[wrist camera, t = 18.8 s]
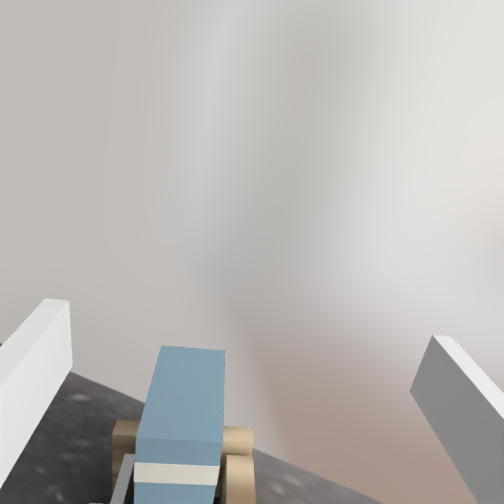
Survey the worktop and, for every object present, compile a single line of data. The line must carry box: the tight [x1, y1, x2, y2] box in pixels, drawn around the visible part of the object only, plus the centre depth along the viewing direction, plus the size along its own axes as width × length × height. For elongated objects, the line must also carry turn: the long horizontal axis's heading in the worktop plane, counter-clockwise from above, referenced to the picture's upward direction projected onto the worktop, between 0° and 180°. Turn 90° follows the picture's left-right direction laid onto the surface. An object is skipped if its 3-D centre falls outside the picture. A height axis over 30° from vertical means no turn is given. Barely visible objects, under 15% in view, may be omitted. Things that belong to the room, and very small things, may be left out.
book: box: [134, 346, 225, 504], centre depth 34 cm, size 10×6×24 cm, turn 3°
